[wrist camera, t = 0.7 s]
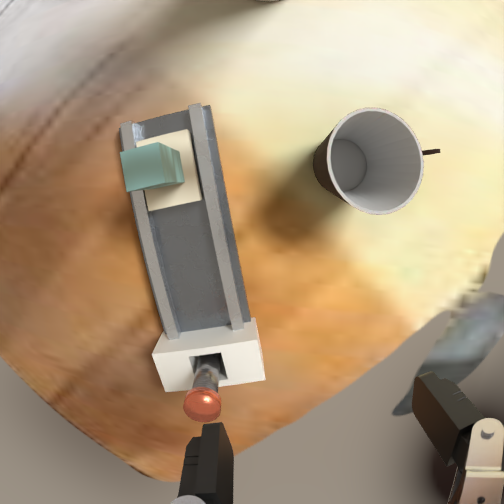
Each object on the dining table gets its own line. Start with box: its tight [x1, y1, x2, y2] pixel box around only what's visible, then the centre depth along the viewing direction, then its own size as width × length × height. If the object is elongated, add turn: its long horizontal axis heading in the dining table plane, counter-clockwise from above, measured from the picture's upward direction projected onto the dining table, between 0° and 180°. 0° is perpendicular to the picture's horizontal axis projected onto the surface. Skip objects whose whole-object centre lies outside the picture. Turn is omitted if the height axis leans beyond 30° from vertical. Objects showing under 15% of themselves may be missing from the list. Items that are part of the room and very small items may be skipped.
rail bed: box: [119, 103, 251, 340], centre depth 33 cm, size 27×10×3 cm, turn 10°
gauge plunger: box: [183, 353, 221, 422], centre depth 29 cm, size 3×3×9 cm
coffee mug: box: [313, 108, 440, 215], centre depth 28 cm, size 12×9×10 cm
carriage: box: [120, 129, 203, 211], centre depth 26 cm, size 7×5×10 cm
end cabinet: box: [152, 317, 265, 392], centre depth 34 cm, size 5×11×6 cm, turn 100°
